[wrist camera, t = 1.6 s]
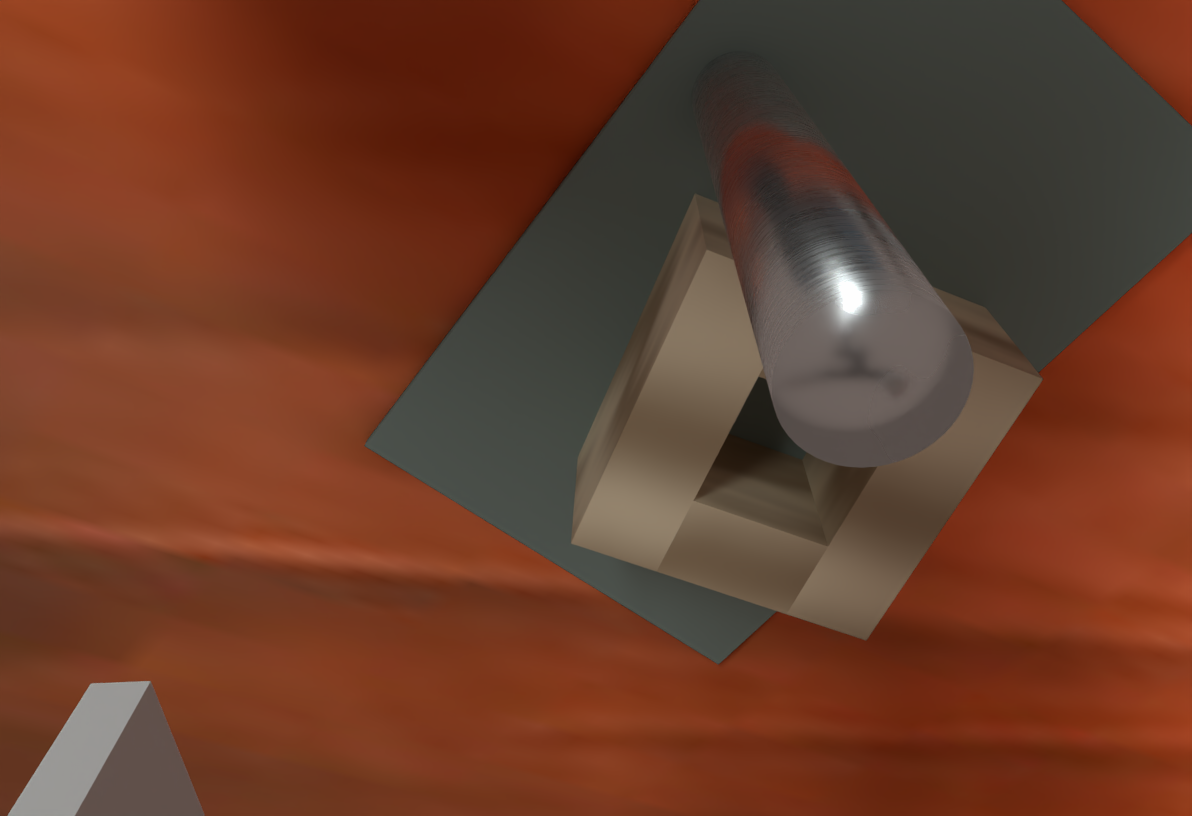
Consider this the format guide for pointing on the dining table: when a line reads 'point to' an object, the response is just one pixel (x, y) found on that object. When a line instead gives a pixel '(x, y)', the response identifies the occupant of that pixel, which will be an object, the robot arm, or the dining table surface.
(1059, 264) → the felt mat
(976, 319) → the wooden square socket block
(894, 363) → the metal peg
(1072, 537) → the dining table surface
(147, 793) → the robot arm
